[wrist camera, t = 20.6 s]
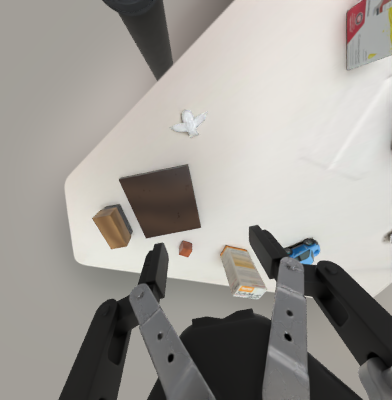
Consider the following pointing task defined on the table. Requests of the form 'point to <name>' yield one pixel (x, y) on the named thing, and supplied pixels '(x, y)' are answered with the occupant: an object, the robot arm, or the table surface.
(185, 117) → the white bird figurine
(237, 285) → the supplement box
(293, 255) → the toy car
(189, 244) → the reddish brown block
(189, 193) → the tray
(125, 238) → the brush
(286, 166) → the table surface
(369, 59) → the ink box
